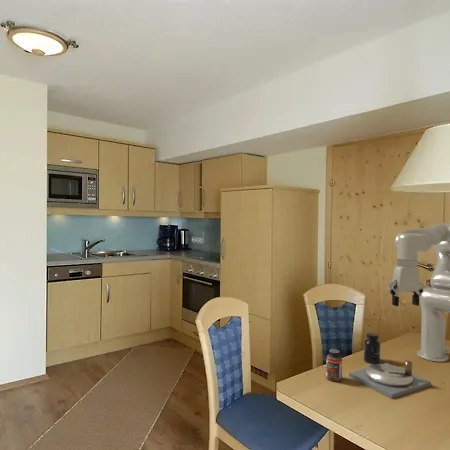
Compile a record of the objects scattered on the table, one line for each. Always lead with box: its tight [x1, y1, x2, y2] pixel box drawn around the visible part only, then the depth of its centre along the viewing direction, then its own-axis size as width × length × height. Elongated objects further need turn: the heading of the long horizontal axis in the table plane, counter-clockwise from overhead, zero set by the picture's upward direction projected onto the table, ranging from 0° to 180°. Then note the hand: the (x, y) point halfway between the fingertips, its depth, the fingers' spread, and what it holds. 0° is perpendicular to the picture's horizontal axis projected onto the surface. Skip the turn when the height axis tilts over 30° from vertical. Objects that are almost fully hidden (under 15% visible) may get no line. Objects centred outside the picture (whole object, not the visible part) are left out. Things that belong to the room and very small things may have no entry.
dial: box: [365, 360, 413, 387], centre depth 144 cm, size 17×17×6 cm
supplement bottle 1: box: [325, 348, 343, 383], centre depth 146 cm, size 6×6×11 cm
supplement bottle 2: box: [363, 332, 381, 364], centre depth 164 cm, size 7×7×12 cm
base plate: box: [348, 362, 432, 399], centre depth 144 cm, size 22×20×2 cm
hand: (405, 305), depth 151 cm, fingers open, 9 cm apart
